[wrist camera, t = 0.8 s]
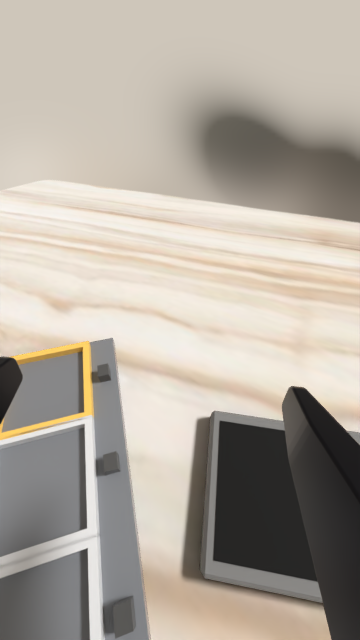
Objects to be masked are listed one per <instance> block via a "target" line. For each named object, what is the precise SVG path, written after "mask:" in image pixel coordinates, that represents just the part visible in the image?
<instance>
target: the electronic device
mask: <svg viewBox="0 0 360 640" xmlns="http://www.w3.org/2000/svg"><path fill="white" fill-rule="evenodd" d="M347 432H348V433H349V434H350V435H351V436H352V437H353V438H354V439H355V440H356V441H357V442H358V443H359V444H360V433H358V432H352V431H347ZM200 571H201V573H202V575H203V576H204V578H206V579H211V580H216V581H221V582H225V583H230V584H235V585H240V586H244V587H249V588H254V589H259V590H263V591H268V592H273V593H278V594H282V595H287V596H292V597H297V598H301V599H306V600H311V601H316V602H320V603H323V602H322V597H321V593H320V589H319V585H318V581H317V576H316V572H315V568H314V564H313V560H312V555H311V551H310V547H309V543H308V539H307V535H306V530H305V526H304V522H303V518H302V514H301V509H300V505H299V501H298V497H297V493H296V488H295V484H294V480H293V476H292V472H291V467H290V463H289V458H288V452H287V444H286V436H285V428H284V421H279V420H273V419H266V418H259V417H253V416H246V415H240V414H233V413H226V412H220V411H214V412H212V414H211V417H210V427H209V442H208V456H207V470H206V484H205V498H204V513H203V527H202V541H201V555H200Z"/></svg>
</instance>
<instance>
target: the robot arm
mask: <svg viewBox="0 0 360 640" xmlns="http://www.w3.org/2000/svg"><path fill="white" fill-rule="evenodd" d="M22 379H23V374H22V372H21V370H20V367H19V365H18V363H17V361H16V359H14V358H12V357H0V424H1V422H2V420H3V419H4V417H5V415H6V413H7V411H8V409H9V407H10V405H11V403H12V401H13V399H14V397H15V394H16V392H17V390H18V388H19V386H20V384H21V382H22ZM282 412H283V420H284V428H285V436H286V444H287V452H288V458H289V463H290V467H291V472H292V476H293V480H294V484H295V488H296V493H297V497H298V501H299V505H300V509H301V514H302V518H303V522H304V526H305V530H306V535H307V539H308V543H309V547H310V551H311V555H312V560H313V564H314V568H315V572H316V576H317V581H318V585H319V589H320V593H321V597H322V602H323V606H324V610H325V614H326V618H327V622H328V627H329V631H330V635H331V639H332V640H360V444H359V443H358V442H357V441H356V440H355V439H354V438H353V437H352V436H351V435H350V434H349V433H348V432H347V431H346V430H345V429H344V428H343V427H342V426H341V425H340V424H339V423H338V422H337V421H336V420H335V419H334V417H333V416H332V415H331V414H330V413H329V412H328V411H327V410H326V409H325V408H324V407H323V406H322V405H321V404H320V403H319V402H318V401H317V400H316V399H315V398H314V397H313V396H312V395H311V394H310V393H309V392H308V391H307V390H306V389H305V388H303V387H296V386H291V387H290V388H289V389H288V391H287V394H286V396H285V398H284V401H283V404H282Z"/></svg>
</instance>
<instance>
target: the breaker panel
mask: <svg viewBox="0 0 360 640" xmlns="http://www.w3.org/2000/svg"><path fill="white" fill-rule="evenodd" d="M12 358H14V359H16V361H17V363H18V365H19V367H20V370H21V372H22V374H23V379H22V382H21V384H20V386H19V388H18V390H17V392H16V394H15V397H14V399H13V401H12V403H11V405H10V407H9V409H8V411H7V413H6V415H5V417H4V419H3V420H2V422H1V424H0V640H151V637H150V628H149V620H148V612H147V604H146V596H145V588H144V580H143V572H142V564H141V556H140V547H139V539H138V531H137V523H136V515H135V507H134V499H133V491H132V483H131V475H130V466H129V458H128V450H127V442H126V434H125V426H124V418H123V410H122V402H121V394H120V385H119V377H118V369H117V361H116V353H115V345H114V341H113V338H110V339H105V340H100V341H95V342H90V343H89V341H86V342H81V343H76V344H71V345H66V346H61V347H56V348H51V349H46V350H41V351H37V352H32V353H27V354H22V355H17V356H12Z"/></svg>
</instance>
